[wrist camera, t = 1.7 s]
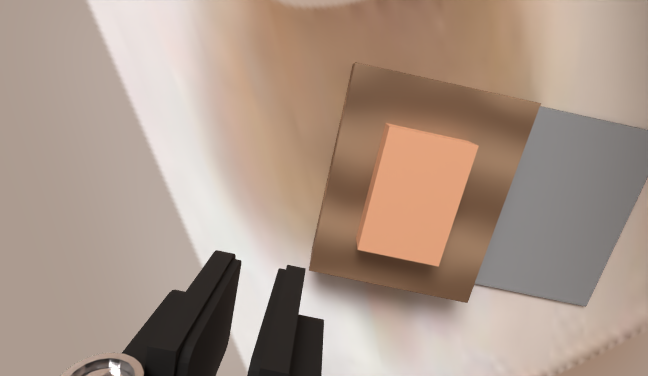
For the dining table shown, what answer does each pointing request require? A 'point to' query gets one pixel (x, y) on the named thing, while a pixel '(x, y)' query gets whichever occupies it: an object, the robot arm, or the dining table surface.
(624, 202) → the mat
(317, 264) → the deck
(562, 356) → the dining table surface
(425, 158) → the peach rectangular tile
